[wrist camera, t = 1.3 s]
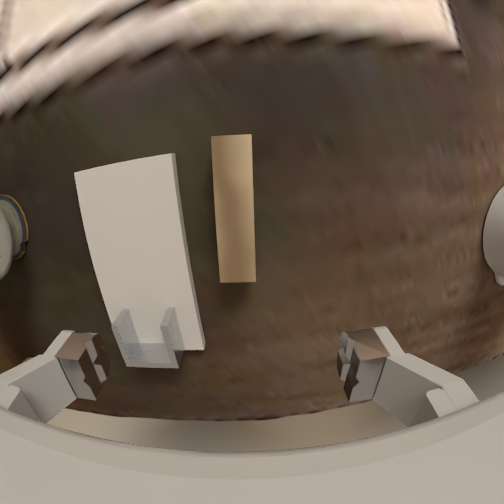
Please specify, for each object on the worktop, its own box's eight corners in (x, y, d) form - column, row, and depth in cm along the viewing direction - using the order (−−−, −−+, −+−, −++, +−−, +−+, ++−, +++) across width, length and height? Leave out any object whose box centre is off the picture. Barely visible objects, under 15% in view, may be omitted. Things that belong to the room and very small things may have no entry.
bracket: (174, 152, 29) (159, 155, 24) (205, 342, 38) (199, 370, 33) (80, 171, 30) (54, 178, 25) (124, 342, 38) (111, 367, 33)
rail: (251, 135, 29) (251, 134, 24) (254, 262, 34) (255, 281, 29) (217, 137, 29) (211, 136, 24) (224, 262, 34) (220, 282, 29)
